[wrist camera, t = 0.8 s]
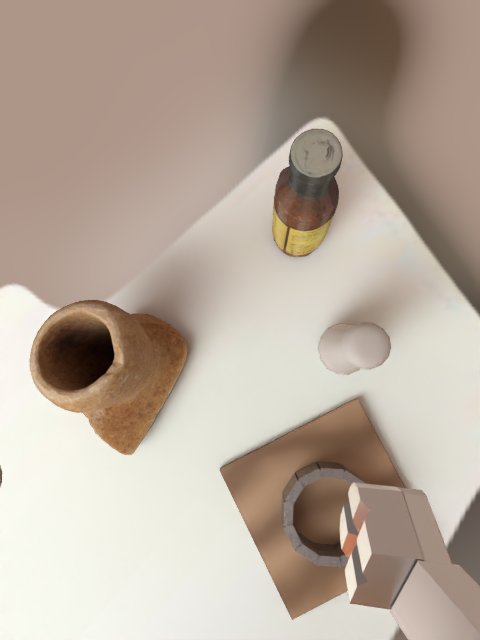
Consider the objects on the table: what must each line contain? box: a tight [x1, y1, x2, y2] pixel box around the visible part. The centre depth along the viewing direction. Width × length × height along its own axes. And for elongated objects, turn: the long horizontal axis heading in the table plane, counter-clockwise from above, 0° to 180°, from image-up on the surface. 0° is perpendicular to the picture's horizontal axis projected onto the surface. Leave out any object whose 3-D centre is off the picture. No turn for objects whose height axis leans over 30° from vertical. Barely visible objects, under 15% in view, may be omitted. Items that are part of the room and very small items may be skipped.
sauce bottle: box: [273, 129, 343, 257], centre depth 41 cm, size 7×6×20 cm
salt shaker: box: [318, 323, 391, 375], centre depth 43 cm, size 6×6×13 cm
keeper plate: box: [220, 399, 405, 620], centre depth 48 cm, size 18×18×1 cm
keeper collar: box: [281, 461, 366, 567], centre depth 46 cm, size 10×10×3 cm
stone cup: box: [30, 300, 188, 455], centre depth 43 cm, size 15×12×15 cm
